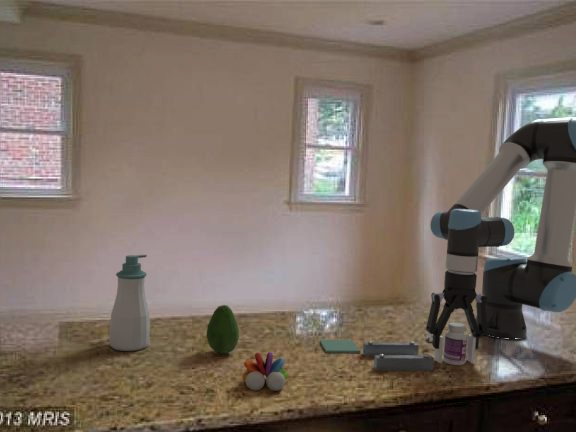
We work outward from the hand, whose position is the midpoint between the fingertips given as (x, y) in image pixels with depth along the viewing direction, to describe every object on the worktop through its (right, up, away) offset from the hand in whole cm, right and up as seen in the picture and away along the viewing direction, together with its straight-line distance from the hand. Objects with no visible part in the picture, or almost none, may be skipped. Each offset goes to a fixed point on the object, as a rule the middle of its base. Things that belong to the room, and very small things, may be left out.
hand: (454, 361), depth 140 cm
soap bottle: (-82, +3, 0) cm, 82 cm away
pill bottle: (0, -1, 0) cm, 0 cm away
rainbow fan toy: (-47, 0, -21) cm, 51 cm away
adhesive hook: (0, 0, +18) cm, 18 cm away
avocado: (-58, +2, -2) cm, 58 cm away
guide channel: (-15, 0, -2) cm, 15 cm away
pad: (-28, +2, +7) cm, 29 cm away
